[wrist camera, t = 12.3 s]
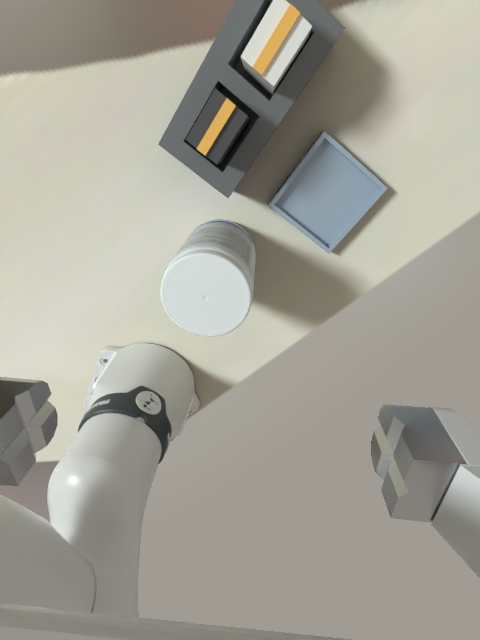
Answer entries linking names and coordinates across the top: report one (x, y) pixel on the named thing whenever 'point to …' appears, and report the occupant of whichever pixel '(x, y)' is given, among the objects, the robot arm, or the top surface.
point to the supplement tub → (211, 279)
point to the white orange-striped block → (275, 45)
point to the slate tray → (327, 193)
